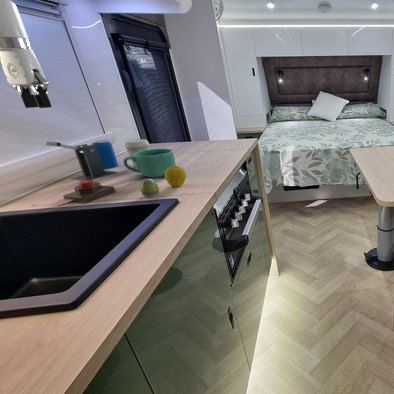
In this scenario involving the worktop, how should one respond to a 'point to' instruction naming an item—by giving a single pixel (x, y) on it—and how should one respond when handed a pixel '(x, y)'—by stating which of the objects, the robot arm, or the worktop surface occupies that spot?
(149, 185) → the egg
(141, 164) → the mug
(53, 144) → the toaster lever
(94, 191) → the button block
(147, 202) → the worktop surface
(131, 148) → the coffee cup
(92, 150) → the toaster bracket
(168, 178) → the apple
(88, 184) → the stop button
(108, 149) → the beverage can
